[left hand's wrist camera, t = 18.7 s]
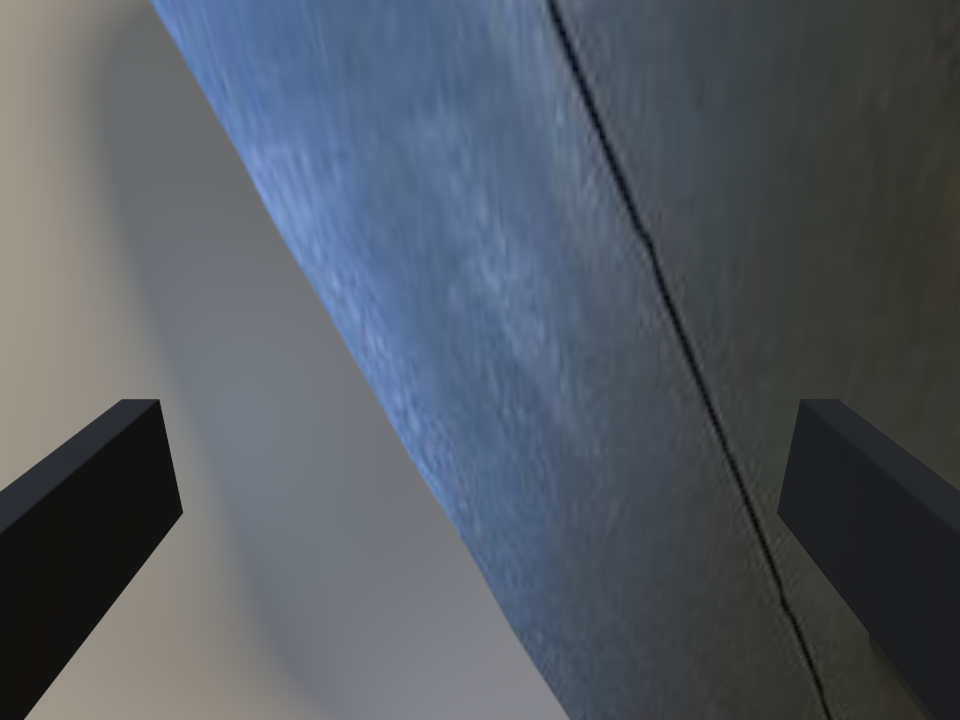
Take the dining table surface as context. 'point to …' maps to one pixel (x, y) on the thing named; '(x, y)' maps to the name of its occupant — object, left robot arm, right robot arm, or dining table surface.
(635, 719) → the dining table surface
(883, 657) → the tin
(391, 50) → the dining table surface
